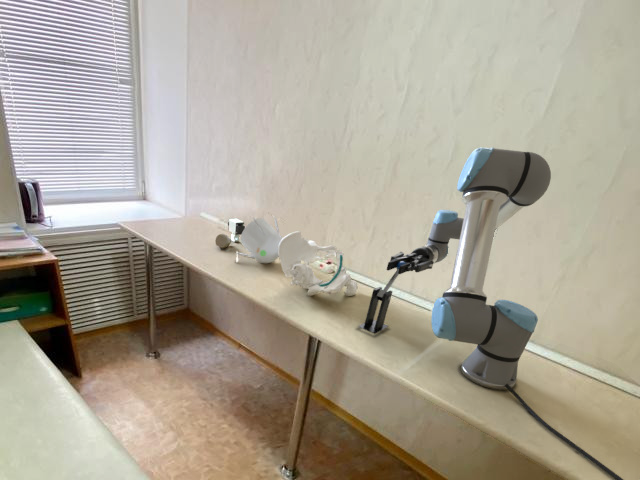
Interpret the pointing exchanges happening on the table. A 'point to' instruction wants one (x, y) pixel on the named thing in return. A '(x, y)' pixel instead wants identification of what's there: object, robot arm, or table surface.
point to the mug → (222, 240)
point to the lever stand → (370, 322)
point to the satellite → (261, 240)
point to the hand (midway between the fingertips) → (394, 268)
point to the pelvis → (302, 249)
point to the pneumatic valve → (236, 228)
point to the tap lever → (381, 292)
